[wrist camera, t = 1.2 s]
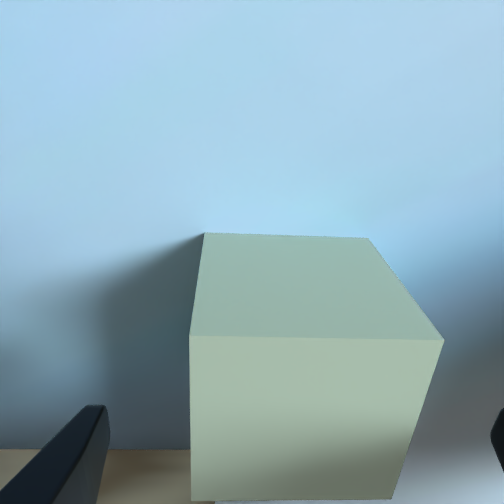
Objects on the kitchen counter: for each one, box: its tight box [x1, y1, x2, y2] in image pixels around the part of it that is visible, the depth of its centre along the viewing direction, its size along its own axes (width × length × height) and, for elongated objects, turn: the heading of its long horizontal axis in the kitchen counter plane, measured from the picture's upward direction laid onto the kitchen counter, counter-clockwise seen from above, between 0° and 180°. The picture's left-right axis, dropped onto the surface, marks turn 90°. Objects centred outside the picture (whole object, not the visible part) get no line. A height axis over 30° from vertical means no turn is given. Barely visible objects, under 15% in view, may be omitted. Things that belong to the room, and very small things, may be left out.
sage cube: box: [189, 233, 444, 501], centre depth 11 cm, size 5×5×5 cm
